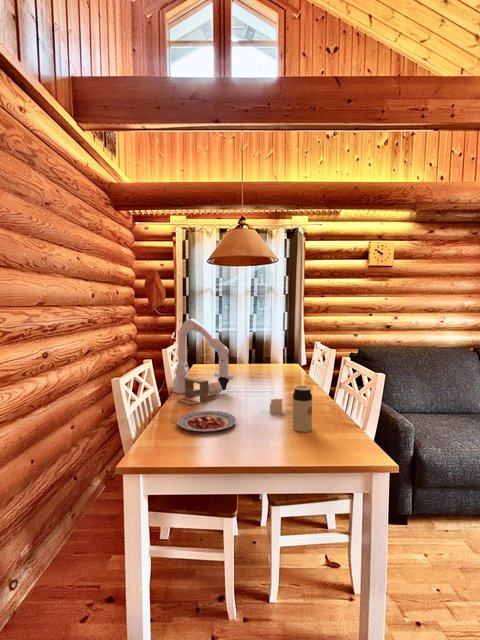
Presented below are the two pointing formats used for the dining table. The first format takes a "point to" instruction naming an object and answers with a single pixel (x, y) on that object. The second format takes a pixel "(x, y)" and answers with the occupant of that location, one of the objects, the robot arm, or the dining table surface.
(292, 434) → the dining table surface
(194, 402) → the trap pit
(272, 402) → the architectural model
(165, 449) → the dining table surface
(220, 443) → the dining table surface
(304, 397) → the travel mug
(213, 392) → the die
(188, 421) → the ceramic plate
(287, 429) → the dining table surface
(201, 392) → the tunnel lane
